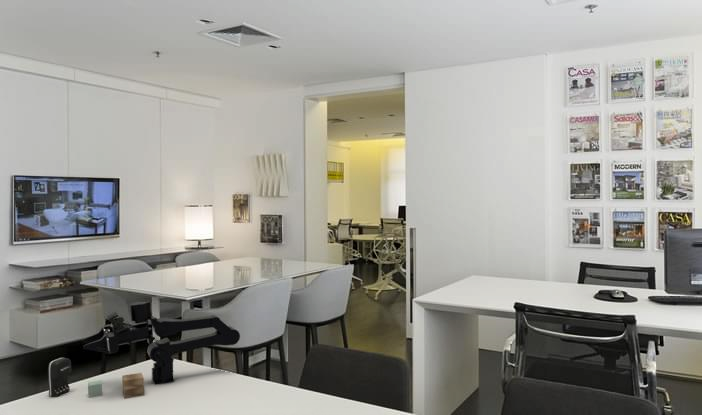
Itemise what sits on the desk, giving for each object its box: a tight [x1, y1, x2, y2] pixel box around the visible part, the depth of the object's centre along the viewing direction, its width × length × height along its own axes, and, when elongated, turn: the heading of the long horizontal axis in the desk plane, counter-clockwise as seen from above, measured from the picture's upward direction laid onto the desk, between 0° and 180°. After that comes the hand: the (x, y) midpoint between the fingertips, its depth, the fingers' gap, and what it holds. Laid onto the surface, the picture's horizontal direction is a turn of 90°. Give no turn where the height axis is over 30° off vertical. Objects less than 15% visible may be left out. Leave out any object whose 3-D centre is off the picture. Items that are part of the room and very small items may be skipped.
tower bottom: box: [122, 386, 145, 400], centre depth 177 cm, size 6×6×3 cm
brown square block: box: [121, 372, 145, 390], centre depth 177 cm, size 6×6×3 cm
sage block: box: [87, 379, 103, 398], centre depth 177 cm, size 4×4×4 cm
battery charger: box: [47, 357, 72, 397], centre depth 178 cm, size 7×4×11 cm, turn 166°
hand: (82, 344), depth 178 cm, fingers open, 9 cm apart
